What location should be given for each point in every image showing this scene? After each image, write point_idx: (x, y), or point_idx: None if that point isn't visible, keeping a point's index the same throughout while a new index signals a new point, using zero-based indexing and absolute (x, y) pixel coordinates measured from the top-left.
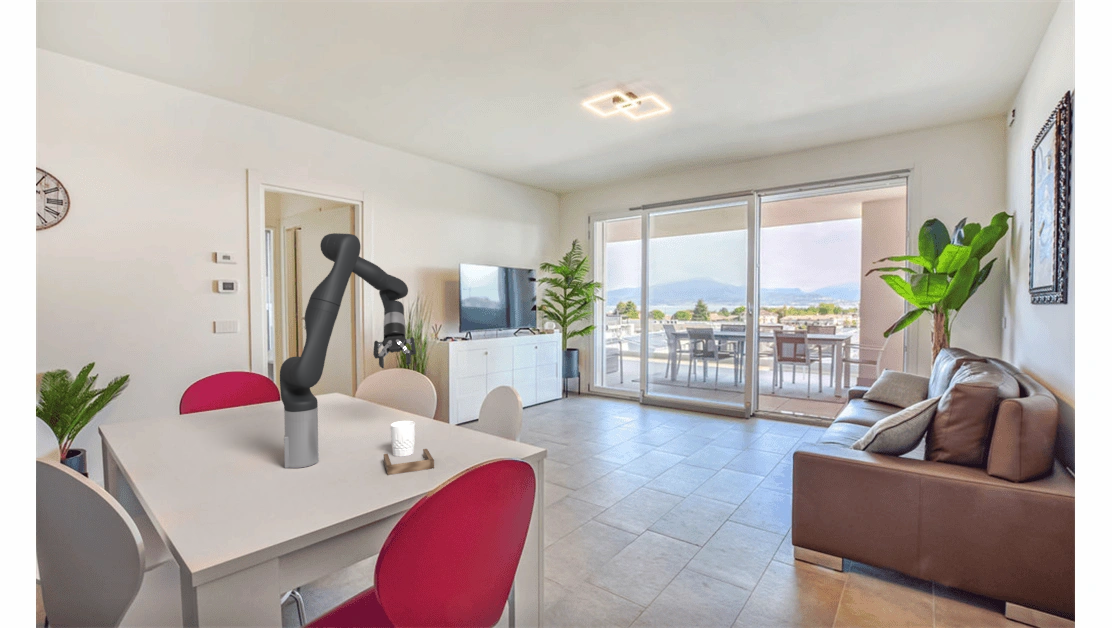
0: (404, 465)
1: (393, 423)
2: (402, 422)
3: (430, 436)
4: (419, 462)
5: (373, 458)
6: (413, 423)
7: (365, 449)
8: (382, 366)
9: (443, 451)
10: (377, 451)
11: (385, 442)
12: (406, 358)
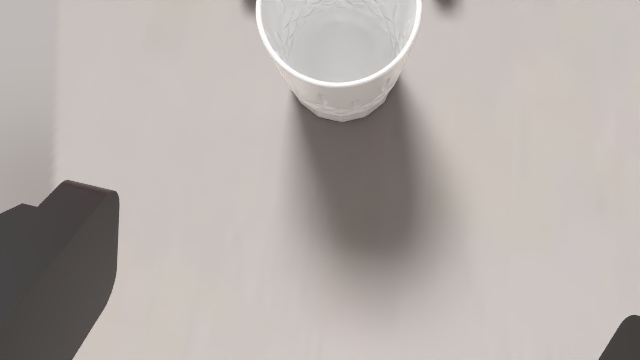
0: None
1: (396, 58)
2: (331, 84)
3: (149, 326)
4: None
5: (491, 52)
6: (265, 30)
7: (525, 224)
8: (632, 329)
9: (150, 23)
10: (465, 160)
11: (410, 314)
12: (47, 250)
